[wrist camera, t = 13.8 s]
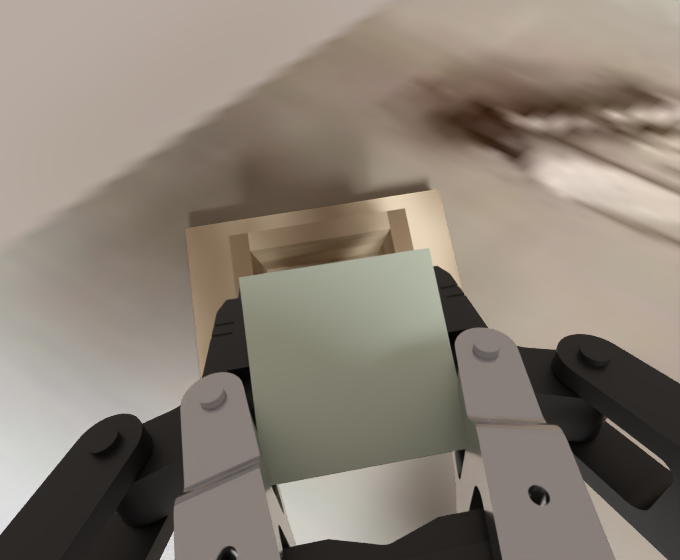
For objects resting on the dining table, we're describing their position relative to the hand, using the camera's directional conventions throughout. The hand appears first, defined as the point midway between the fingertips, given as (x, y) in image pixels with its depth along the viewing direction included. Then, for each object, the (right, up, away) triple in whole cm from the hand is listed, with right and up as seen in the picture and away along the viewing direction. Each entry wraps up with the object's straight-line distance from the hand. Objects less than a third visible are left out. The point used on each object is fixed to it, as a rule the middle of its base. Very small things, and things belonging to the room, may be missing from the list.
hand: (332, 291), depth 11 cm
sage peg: (0, -3, +4) cm, 5 cm away
